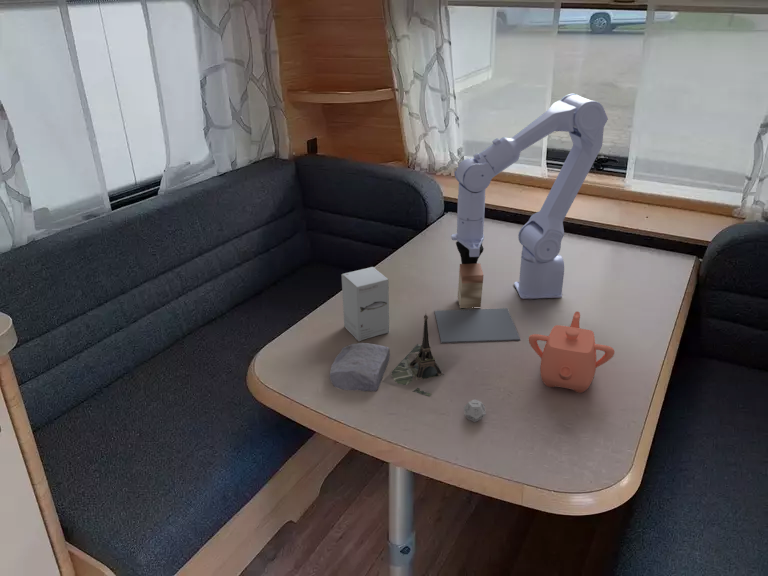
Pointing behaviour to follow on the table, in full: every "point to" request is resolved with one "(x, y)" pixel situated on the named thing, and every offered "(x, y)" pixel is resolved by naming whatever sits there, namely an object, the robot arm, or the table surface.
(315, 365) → the table surface
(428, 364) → the eiffel tower figurine
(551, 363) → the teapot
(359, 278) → the supplement box
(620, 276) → the table surface
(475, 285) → the tall block
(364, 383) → the stone block
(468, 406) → the game die
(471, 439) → the table surface
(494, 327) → the mat
